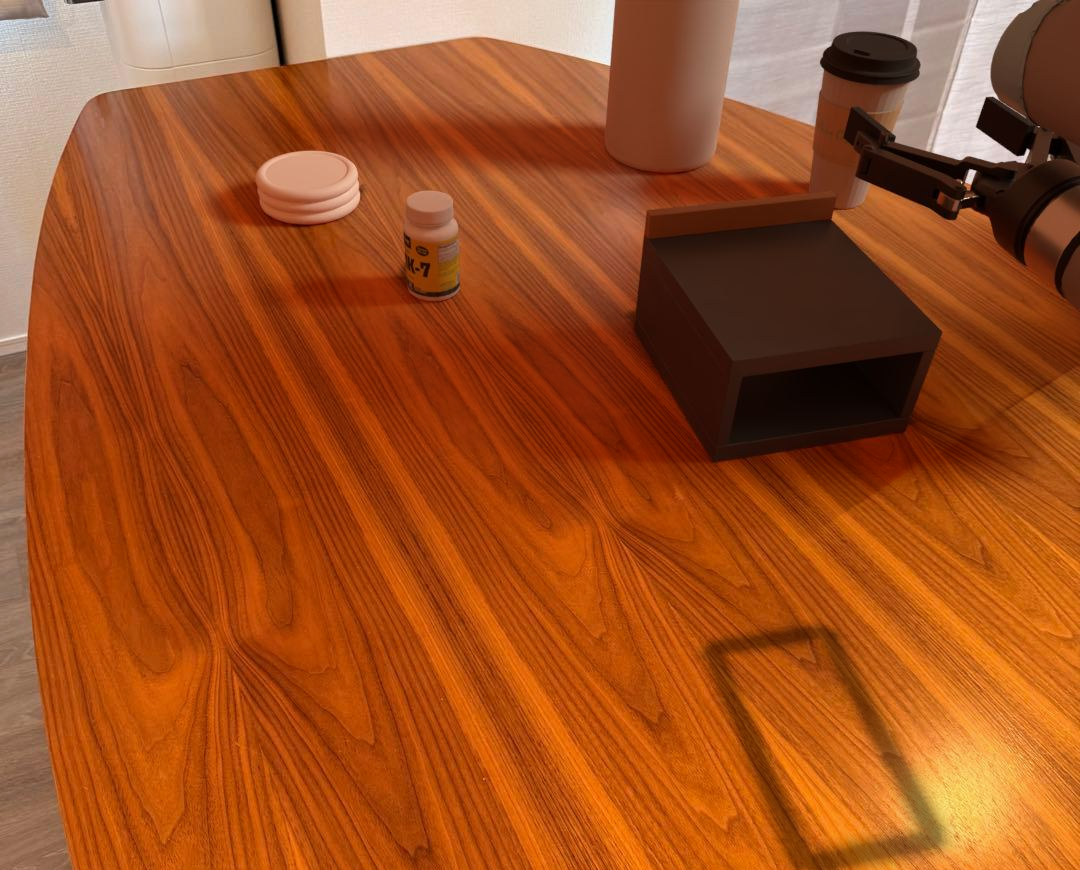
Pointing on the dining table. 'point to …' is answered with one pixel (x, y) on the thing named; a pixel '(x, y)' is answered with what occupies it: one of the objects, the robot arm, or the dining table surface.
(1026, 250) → the robot arm
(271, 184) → the coaster
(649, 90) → the cylinder vase
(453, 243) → the supplement bottle
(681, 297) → the dark brown hollow box
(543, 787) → the dining table surface
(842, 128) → the coffee cup
